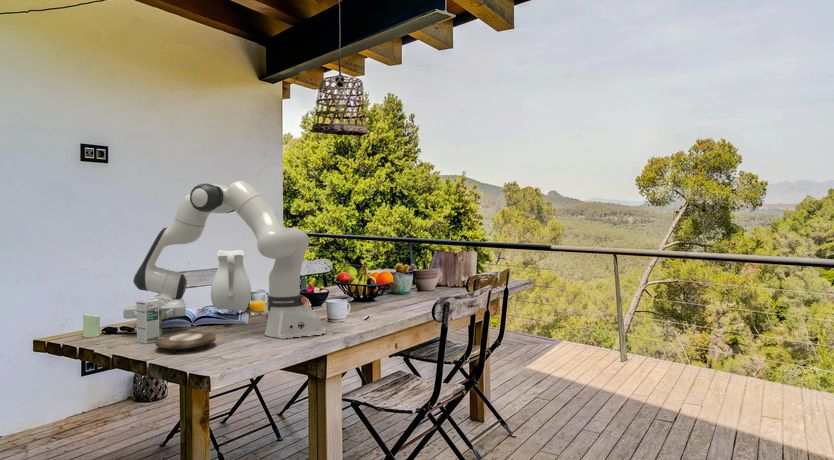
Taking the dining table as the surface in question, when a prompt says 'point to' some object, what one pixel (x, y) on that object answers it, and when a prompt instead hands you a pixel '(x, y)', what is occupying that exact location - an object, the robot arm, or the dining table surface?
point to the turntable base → (185, 348)
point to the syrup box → (148, 320)
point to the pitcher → (230, 282)
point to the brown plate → (185, 339)
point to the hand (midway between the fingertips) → (151, 315)
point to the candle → (91, 326)
